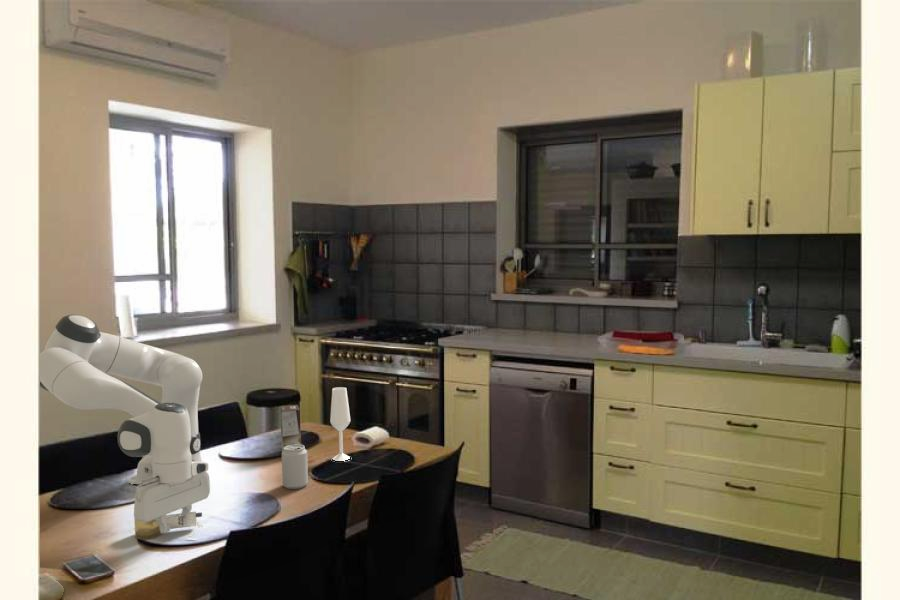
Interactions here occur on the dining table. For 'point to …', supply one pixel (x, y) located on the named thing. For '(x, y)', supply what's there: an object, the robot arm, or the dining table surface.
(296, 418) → the coffee box
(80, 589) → the dining table surface
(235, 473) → the dining table surface
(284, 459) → the can
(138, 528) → the yellow cylinder with handle
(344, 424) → the champagne flute
